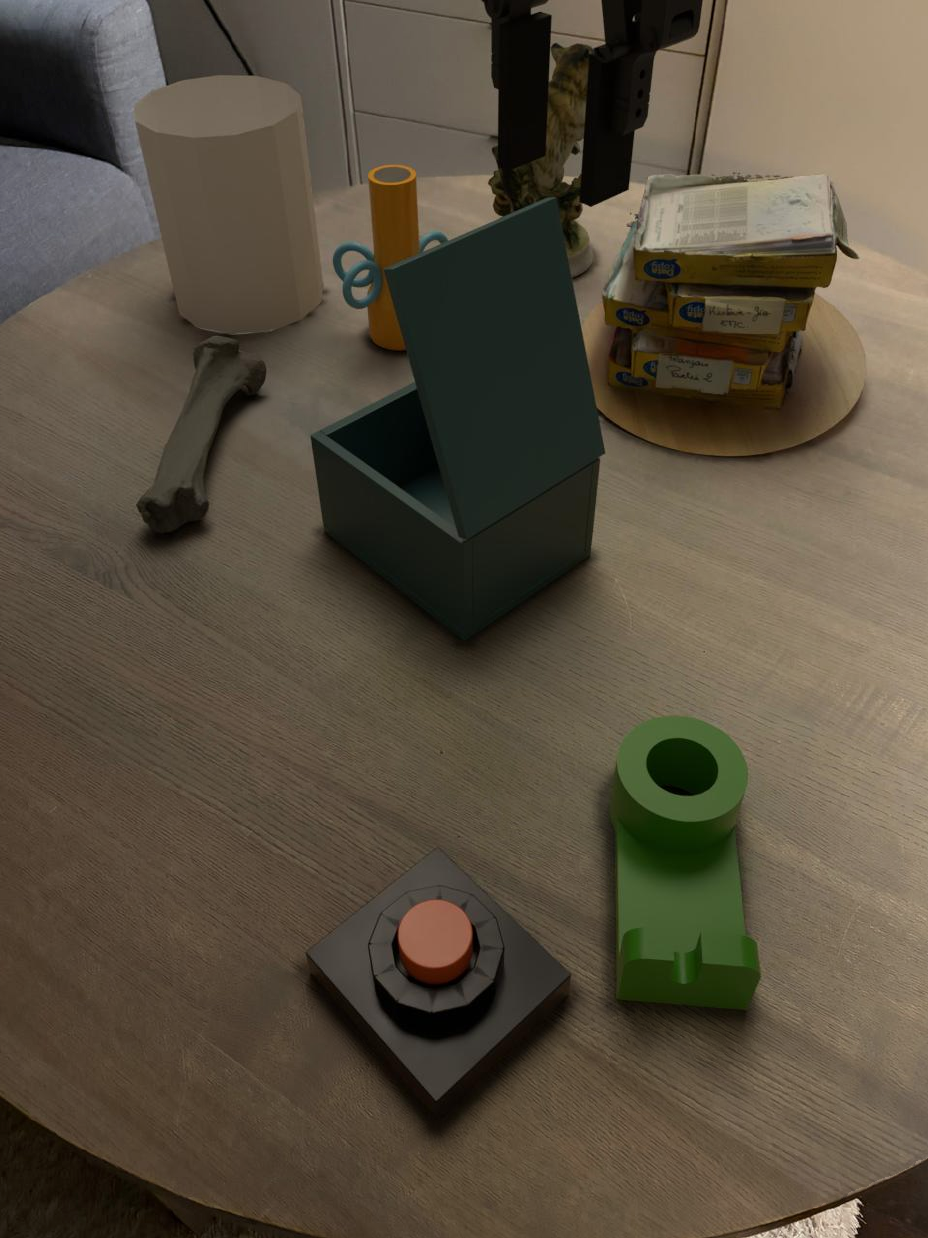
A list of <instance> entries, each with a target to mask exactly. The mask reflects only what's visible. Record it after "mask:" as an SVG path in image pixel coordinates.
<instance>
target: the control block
mask: <svg viewBox="0 0 928 1238" xmlns="http://www.w3.org/2000/svg"><path fill="white" fill-rule="evenodd" d="M434 899H438V900H445V901H449V902H451V903H453V904H455V905H457V906H458V907H460V908H461V909H462V910H463V911H464V912H465V913H466V915H467V916H468V918H469V920H470V922H471V925H472V930H473V954H472V959H471V961H470V964H469V966H468V967H467V969H466V970H465V971H464V972H463V973H462V974H461V975H460V976H459V977H458V978H456V979H454V980H453V981H450V982H448V983H444V984H436V985H433V984H427V983H423V982H420V981H418V980H416V979H415V978H413V977H412V976H411V975H410V974H409V973H408V972H407V971H406V970H405V968H404V966H403V964H402V962H401V959H400V953H399V944H398V928H399V924H400V922H401V920H402V918H403V916H404V915H405V914H406V913H407V911H409V910H410V909H411V908H412V907H413V906H415V905H417V904H418V903H421V902H423V901H427V900H434ZM305 957H306V960H307V964H308V965H307V966H308V968H309V972H310V973H311V974H312V976H313V977H314V978H315V979H316V981H318V982H319V984H320V985H321V986H322V987H323V989H324V990H325V991H326V992H327V993H328V995H330V997H331V998H332V999H333V1000H334V1002H335V1003H336V1004H337V1005H338V1006H339V1007H340V1008H341V1010H343V1012H344V1013H345V1014H346V1015H347V1017H348V1018H349V1019H350V1020H351V1021H352V1023H354V1025H355V1026H356V1027H357V1028H358V1029H359V1030H360V1032H362V1034H363V1035H364V1036H365V1037H366V1038H367V1040H368V1041H369V1042H370V1043H371V1044H372V1046H373V1047H374V1048H375V1049H376V1050H377V1051H378V1052H379V1054H380V1055H381V1056H382V1057H383V1058H384V1059H385V1061H387V1063H388V1064H389V1065H390V1066H391V1068H393V1070H394V1071H395V1072H396V1073H397V1074H398V1076H399V1077H400V1078H401V1079H402V1080H403V1081H404V1083H405V1084H406V1085H407V1086H408V1087H409V1088H410V1090H411V1091H412V1092H413V1093H414V1094H415V1095H416V1096H417V1098H418V1099H419V1100H420V1101H421V1103H423V1105H424V1106H425V1107H426V1108H427V1110H429V1112H430V1113H431V1114H432V1115H433V1116H434V1118H436V1119H437V1120H439V1119H440V1118H441V1117H442V1116H443V1115H444V1114H445V1113H446V1112H447V1111H449V1109H450V1108H451V1107H453V1106H454V1105H455V1104H456V1103H457V1102H458V1101H459V1100H460V1099H461V1098H462V1097H463V1096H464V1095H465V1094H466V1093H467V1092H468V1091H469V1090H470V1089H471V1088H472V1087H474V1086H475V1085H476V1083H478V1081H480V1080H481V1079H482V1078H483V1077H484V1076H485V1075H486V1074H487V1073H488V1072H489V1071H491V1069H492V1068H493V1067H495V1065H497V1064H498V1063H499V1062H500V1061H501V1060H502V1059H503V1058H504V1057H505V1056H506V1055H507V1054H509V1052H510V1051H511V1050H512V1049H513V1048H514V1047H515V1046H516V1045H517V1044H519V1042H521V1041H522V1040H523V1039H524V1037H526V1036H527V1035H528V1034H530V1032H531V1031H532V1030H533V1029H534V1028H535V1027H536V1026H537V1025H538V1024H539V1023H540V1022H541V1021H542V1020H543V1019H544V1018H545V1017H547V1016H548V1015H549V1014H550V1013H551V1012H552V1011H553V1010H554V1009H555V1008H556V1007H557V1006H558V1005H559V1004H561V1002H563V1000H564V999H565V998H566V997H567V996H568V995H569V994H570V988H571V981H572V973H571V972H569V970H568V969H566V968H565V967H564V966H563V965H562V964H561V963H560V962H559V961H558V960H557V959H556V958H555V957H554V956H553V955H551V954H550V952H549V951H548V950H547V949H545V948H544V946H543V945H541V944H540V943H539V942H538V941H537V940H536V939H535V938H534V937H533V936H532V935H531V934H530V933H529V932H528V931H527V930H526V929H525V928H524V927H522V925H520V924H519V922H518V921H516V919H514V918H513V916H511V915H510V913H508V912H507V911H506V910H505V909H504V908H502V907H501V906H500V904H498V902H496V901H495V900H494V899H493V898H492V896H490V895H489V893H487V891H485V890H484V889H483V888H482V887H481V886H480V885H478V884H477V883H476V881H474V880H473V879H472V877H470V876H469V874H467V873H466V872H465V871H464V870H463V869H462V868H461V867H460V866H459V865H458V864H457V863H455V862H454V860H453V859H451V858H450V857H449V856H448V855H447V853H446V852H444V851H443V850H442V849H441V848H440V847H439V846H437V847H436V848H434V849H433V850H432V851H431V852H429V853H428V854H426V856H424V857H423V858H422V859H420V860H419V861H418V862H417V863H415V864H414V865H413V866H412V867H410V868H409V869H408V870H406V871H405V872H404V873H403V874H401V875H400V876H399V877H397V878H396V880H394V881H392V882H391V883H390V884H389V885H388V886H387V887H386V888H384V889H383V890H382V891H380V892H379V893H377V895H375V896H374V897H373V898H372V899H370V900H369V901H367V903H365V904H364V905H363V906H361V907H360V908H358V910H356V911H355V912H354V913H352V914H351V915H350V916H349V917H348V918H346V919H345V920H344V921H343V922H341V923H340V924H339V925H337V926H336V927H335V928H333V930H331V931H330V932H328V933H327V934H326V935H325V936H324V937H322V938H321V939H320V940H319V941H318V942H316V943H315V944H314V945H312V946H311V947H310V948H308V949H307V950H306V951H305Z"/></svg>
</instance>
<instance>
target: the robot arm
mask: <svg viewBox="0 0 928 1238" xmlns="http://www.w3.org/2000/svg"><path fill="white" fill-rule="evenodd" d="M480 1H481V2H482V3H483V5H484V9H485V12H486V15H487V16H488V17H489V18H490V19H491V20H490V21H491V35H490V37H491V39H490V40H491V41H490V42H491V49H490V50H491V51H490V53H491V55H490V58H491V59H490V61H491V64H490V75H491V81H492V85H493V88H494V89H496V90H497V91H498V92H497V94H498V96H497V146H498V166H497V168H498V167H499V168H501V169H504V170H506V171H510V170H513V169H515V168H517V167H520V166H522V165H525V164H527V163H530V162H532V161H535V160H537V159H539V158H542V157H544V156H546V136H547V113H548V90H549V81H550V64H551V63H550V61H551V45H552V44H551V43H552V41H551V39H552V22H553V21H552V20H553V15H552V14H550V13H548V12H547V13H546V12H543V11H537V12H534V13H532V9H534V8H536V7H540V6H543V5H546V4H547V3H548V2H549V0H480ZM600 1H601V10H602V11H601V12H602V21H603V23H602V24H603V33H604V44H601V45H599V46H595V47H592V48H593V49H594V53H591V54H589V67H588V81H587V96H586V111H585V125H584V138H583V139H582V140H583V141H582V157H581V170H580V174H581V184H580V198H579V202H580V203H582V205H585V206H588V207H590V208H592V207H595V206H597V205H598V204H601V203H603V202H605V201H607V200H609V199H611V198H614V197H616V196H618V195H621V194H623V193H625V192H628V191H630V181H631V171H632V163H633V162H632V161H633V153H634V152H633V151H634V142H635V131H637V130H639V129H642V128H644V125H645V124H646V121H647V119H648V116H649V110H650V109H649V108H650V104H649V103H650V99H651V94H650V93H651V90H652V80H653V72H654V63H655V62H654V61H655V56H656V54H657V53H658V52H659V51H661V50H664V49H667V48H669V47H672V46H674V45H678V44H681V43H683V42H685V41H688V40H691V39H693V38H694V37H696V36H697V34H698V33H699V29H700V24H701V17H702V9H703V1H704V0H600Z"/></svg>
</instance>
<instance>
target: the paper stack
mask: <svg viewBox="0 0 928 1238" xmlns="http://www.w3.org/2000/svg"><path fill="white" fill-rule="evenodd" d="M657 173H661V174H657ZM657 173H655V174H652V175H650V176H649V175H648V176H647V177H646V181H645V187H644V191H643V194H642V198H641V199H642V200H641V203H640V207H639V211H638V213H634V214H632V212H629V215H634V220H633V221H630V222H627V223H626V227H627V228H630V229H629V230H628V232H627V236H626V238H625V240H624V242H623V243H622V245H621V247H620V248H619V250H618V253H617V254H616V256H615V259H614V260H613V263H612V265H611V266H610V270H609V273H608V275H607V279H606V281H605V283H604V287H603V290H602V292H601V299H602V300H601V301H600V302H599V303H598V304H597V305H596V306H595V307H594V308H592V310H591V311H590V312H589V314H588V315H587V316H586V317H585V319H584V320H583V322H582V324H581V328H582V334H583V339H584V344H585V349H586V354H587V360H588V365H589V370H590V375H591V380H592V386H593V391H594V396H595V401H596V406H597V410H599V411H600V412H601V413H602V414H603V415H604V416H606V418H608V419H609V420H610V421H612V422H613V423H614V424H616V425H617V426H619V427H620V428H622V429H624V430H625V431H627V432H629V433H631V434H633V435H634V436H637V437H639V438H641V439H643V440H645V441H648V442H650V443H653V444H655V445H658V446H662V447H665V448H668V449H672V450H676V451H679V452H685V453H691V454H695V455H696V454H697V455H704V456H717V457H742V456H743V457H747V456H755V455H763V454H768V453H774V452H779V451H781V450H782V451H783V450H786V449H790V448H792V447H795V446H798V445H801V444H804V443H806V442H808V441H810V440H812V439H815V438H817V437H818V436H820V435H822V434H824V433H826V432H827V431H829V430H831V428H833V427H834V426H836V425H838V423H839V422H841V421H842V420H843V419H844V418H845V417H846V416H847V415H848V414H849V412H850V411H851V410H852V409H853V408H854V406H855V405H856V403H857V402H858V400H859V398H860V397H861V395H862V392H863V389H864V386H865V384H866V379H867V378H866V377H867V370H868V369H867V358H866V352H865V349H864V346H863V343H862V340H861V338H860V337H859V334H858V332H857V331H856V330H855V328H854V326H853V325H852V323H851V322H850V321H849V319H847V318H846V316H845V315H844V314H843V313H842V312H841V311H840V310H839V309H837V307H836V306H835V305H833V304H831V303H830V302H829V301H828V300H826V299H825V298H824V297H823V296H821V295H819V294H818V293H816V289H817V288H821V289H826V288H829V286H830V285H831V283H832V279H833V275H834V271H835V268H836V264H837V261H838V249H839V250H840V252H841V253H842V254H843V255H845V256H846V257H848V258H850V259H853V260H859V259H860V256H859V254H858V253H857V252H856V251H855V249H853V248H852V247H851V246H850V244H849V239H848V223H847V220H846V217H845V215H844V212H843V208H842V205H841V202H840V199H839V197H838V194H837V193H836V190H835V185H834V182H833V181H832V180H830V178H829V176H828V175H827V174H822V173H818V174H812V175H798V176H783V177H782V176H781V175H778V174H776V175H774V174H772V177H773V178H771V175H770V174H766V175H764V176H763V175H761V174H755V175H754V176H752V175H751V174H747V175H745V176H743V175H741V172H735V171H733V172H732V175H719V176H717V175H715V174H711V175H705V174H701V173H700V174H691V175H690V174H688V175H687V174H680V175H675V174H670V173H666V174H664V171H661V172H660V171H659V170H658V171H657ZM736 174H737V175H736ZM735 175H736V178H735ZM714 177H715V178H714ZM764 177H765V178H768V179H767V180H766V179H765V180H760V179H764ZM754 179H756V180H754ZM758 179H759V180H758Z"/></svg>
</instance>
